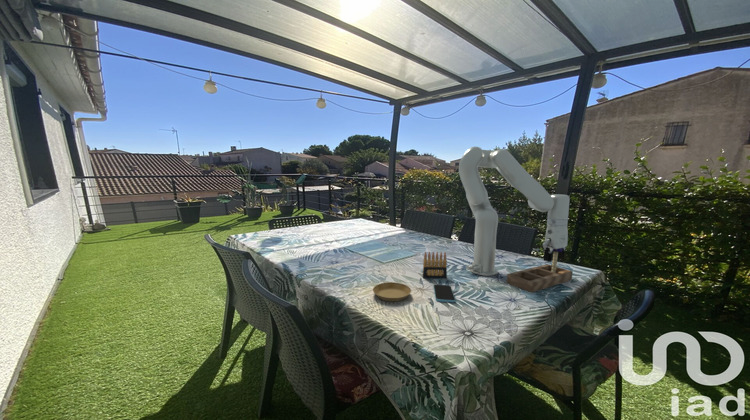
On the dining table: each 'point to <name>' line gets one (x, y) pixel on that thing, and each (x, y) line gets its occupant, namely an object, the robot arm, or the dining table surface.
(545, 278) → the tray
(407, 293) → the plant saucer
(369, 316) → the dining table surface
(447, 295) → the smartphone
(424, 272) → the ammunition clip
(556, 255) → the toy lamp
